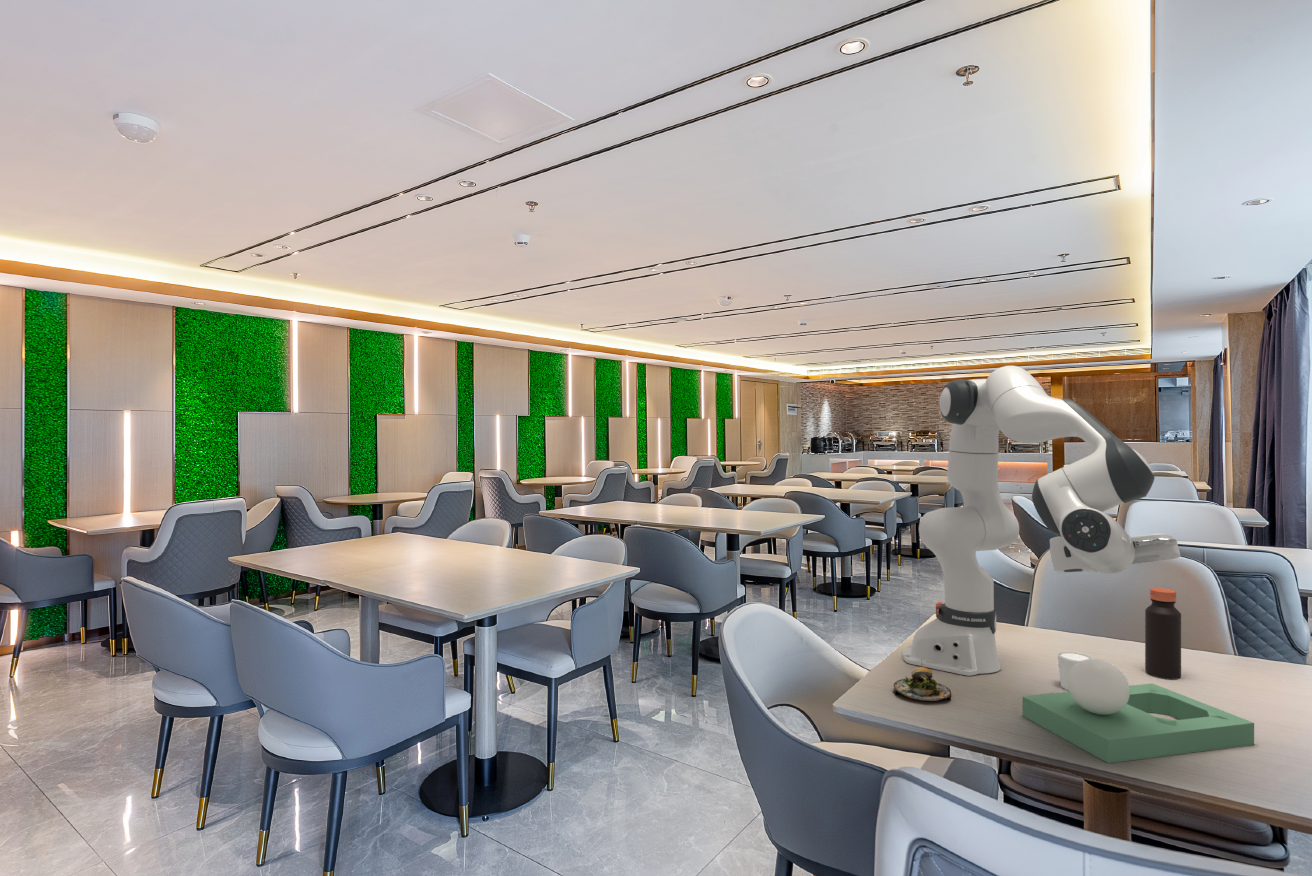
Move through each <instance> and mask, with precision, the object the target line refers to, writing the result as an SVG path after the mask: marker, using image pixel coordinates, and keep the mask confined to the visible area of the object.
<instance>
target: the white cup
mask: <svg viewBox="0 0 1312 876" xmlns="http://www.w3.org/2000/svg"><path fill="white" fill-rule="evenodd" d="M1086 659H1093V658H1092V657H1091V656H1088V655H1086V654H1082V653H1077V652H1067V651H1066V652H1060V653H1057V661H1058V669H1059V670H1058V671H1059V680H1060V687H1061V688H1062V689H1065V690H1067V691H1069V690H1068V686H1067V677H1068V674H1069V671H1070V670H1071V668H1072V667H1073V666H1074V665H1075V664H1076V663H1078V662H1080V661H1082V660H1086Z"/></svg>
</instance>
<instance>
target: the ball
mask: <svg viewBox="0 0 1312 876" xmlns="http://www.w3.org/2000/svg"><path fill="white" fill-rule="evenodd" d="M1067 686H1068V690H1067V691H1068V692H1069V693H1070V695H1071V696H1072V698H1073V699H1074V701H1075V702H1076V703H1077V704H1078V705H1080V706H1081V707H1082V708H1084V709H1085V710H1087V711H1089V712H1092V713H1095V714H1100V715H1109V714H1113V713H1116V712H1118V711H1120V710H1121V709H1123V708H1124V707H1125V705H1126V704H1127V702H1128V700H1129V696H1130V688H1129V686H1130V684H1129V681H1128V680H1127V678H1126V675H1124V673H1123V672H1122V671H1121V670H1120V669H1119V668H1118V666H1117V667H1116V666H1115V665H1113V664H1112V663H1110V662H1108V661H1106V660H1102V659H1098V658H1092V659H1086V660H1082V661H1080V662H1078V663H1076V664H1075V665H1074V666H1073V667H1072V668H1071V670H1070V671H1069V674H1068V677H1067Z"/></svg>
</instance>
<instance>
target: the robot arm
mask: <svg viewBox="0 0 1312 876" xmlns="http://www.w3.org/2000/svg"><path fill="white" fill-rule="evenodd" d="M939 410H940V414H941V416H942V417H943V419H944V420H945V421H946V423H947V422H948V423H951V424H952V425H951V426H952V427H951V431H950V436H949V444H948V460H947V477H946V478H947V481H948V483H949V485H951V487H953V488H954V489H955V490H957V491H958V492H960V494H961V497H962V502H963V506H959V507H958V506H957V507H956V506H955V507H942V508H938V509H934V510H931V511H928V512H926V513H924V514H923V515H922V517H921V519H920V521H919V525H918V534H919V538H920V540H921V542H922V543H923V544H924V546H925V547H926V548H927V549H929V551H931V552H932V553H933V554H934V555H935V557H936V559H937V560H938V563H939V564H940V566H941V567H940V568H941V570H942V575H943V585H944V602H942V601H938V602H937V603H936V604H935V605H934V606H935V607H934V608H935V617H936V618H935V619H933V620H931V621H930V622H928V623H927V624H925V625H923V626H922V627H920V628H918V629H917V630H916V631H915V633H914V635H913V639H912V643H911V645H909V646H907V647H905V648H904V649H903V652H902V659H903V661H904V662H906V663H907V664H911V665H915V666H918V667H921V658H922V667H925V668H928V669H934V670H938V671H943V672H949V673H953V674H958V675H962V676H963V675H964V676H967V677H968V676H970V677H971V676H975V675H979V674H981V675H982V674H991V673H996V672H999V671H1001V670H1002V664H1001V662H1000V657H999V654H998V653H999V652H998V649H997V644H996V643H997V641H996V631H997V614H996V613H997V612H996V608H994V607H995V606H994V605H995V601H994V599H995V596H994V593H995V589H994V588H995V587H994V586H995V584H994V583H995V582H994V578H993V576H992V575H991V574H990V573H989V571H987V570H986V569H984V568H982V567H981V566H980V565H979V563H978V559H977V554H976V552H982V551H983V552H984V551H996V550H1000V549H1003V548H1006V547H1009V546H1011V545H1013V544H1014V543H1015V542H1017V540H1018V538H1019V534H1020V523H1019V521H1018V519H1017V517H1016V515H1015V514H1014V513H1013V512H1012V511H1011V510H1010V509H1008V507H1007V506H1006V505H1005V503H1004V501H1003V499H1002V496H1001V492H1000V489H999V483H998V474H999V472H998V468H999V465H998V463H999V447H1000V444H999V443H1000V442H999V440H1000V438H999V434H1000V431H1001V433H1002V434H1003V435H1004V436H1005V437H1006V438H1007V439H1009V440H1011V441H1014V442H1017V443H1022V444H1039V443H1044V442H1048V441H1051V440H1056V439H1061V438H1069V437H1070V438H1072V437H1074V438H1075V437H1076V438H1079V439H1081V440H1082V441H1084V443H1086V444H1087V446H1089V447H1090V448H1091V449H1092V450H1093V451H1094V452H1092V453H1091V454H1089V455H1087V456H1085V457H1083V458H1081V459H1078V460H1077V461H1074V462H1072V463H1070V464H1067V465H1065V466H1063V467H1060V468H1058V469H1056V470H1054V471H1051V472H1050V473H1047V474H1045V475H1043V476H1041V477H1040V478H1037V479H1036V480H1035V483H1034V485H1033V490H1032V494H1031V500H1032V503H1033V506H1034V508H1035V510H1036V513H1037V514H1038V516H1039V518H1040V519H1041V521H1042V523H1043V524H1044V525H1045V527H1046V528H1047V529H1048V530H1049V531H1050V532H1051V533H1052V534H1054V535H1056V536H1054V537H1052V538H1050V539H1049V553H1050V558H1051V562H1052V566H1053V571H1054V572H1056V573H1060V574H1061V573H1062V574H1063V573H1075V572H1076V573H1079V572H1081V573H1082V572H1089V573H1101V574H1109V575H1110V574H1116V573H1119V572H1122V571H1125V570H1126V569H1128V568H1129V567H1130V566H1131V565H1134V564H1142V563H1153V562H1158V561H1168V560H1175V559H1178V558H1180V557H1181V552H1180V548H1179V545H1178V541H1177V540H1176V538H1175V537H1173V536H1172V535H1170V534H1168V533H1161V532H1160V533H1150V534H1149V533H1148V534H1144V535H1143V534H1142V535H1136V536H1130V534H1128V532H1127V531H1126V530H1125V529H1124V528H1123V527H1122V525H1120V523H1119V522H1118V521H1117V520H1115V519H1114V518H1113V517H1112V516H1110V515H1109V514H1107V513H1105V512H1106V511H1108V510H1110V509H1113V508H1115V507H1117V506H1120V505H1122V504H1127V503H1130V502H1134V501H1137V500H1139V499H1142V498H1146V497H1147V495H1148V494H1149V492H1150V491H1151V489H1152V488H1153V487H1152V486H1153V483H1154V482H1155V477H1156V476H1155V475H1154V473H1153V470H1152V467H1151V465H1150V463H1149V462H1148V461H1147V459H1146V458H1145V457H1144V456H1143V455H1142V454H1141V453H1139V452H1138V451H1137V450H1135V449H1134V448H1133V447H1131V446H1130V445H1128V444H1127V443H1126V442H1124V441H1123V440H1121V439H1120V438H1119V437H1117V436H1116V435H1115V434H1114V433H1113V432H1112V431H1111V430H1110V429H1108V428H1107V426H1105V425H1104V424H1103V423H1101V422H1100V421H1099V419H1097V418H1096V417H1095V416H1093V415H1092V414H1091V413H1090V412H1089V411H1088V410H1086V409H1085V408H1083V407H1082V406H1081V405H1080V404H1079V403H1077V402H1075V401H1074V400H1072V399H1070V398H1056V397H1052V396H1050V395H1049V394H1047V393H1046V391H1045V390H1044V388H1043V386H1042V385H1041V384H1040V383H1039V381H1038V380H1037V379H1036V378H1034V376H1032V374H1030V373H1029V372H1028V371H1027V370H1025V368H1023V367H1020V366H1017V365H1004V366H1001V367H998V368H996V369H995V370H993V371H992V372H991V373H990V374H989V375H988V376H987V378H973V379H965V378H960V379H955V380H952V381H949V382H947V383H946V384H945V386H943V387H942V389H941V393H940V396H939Z"/></svg>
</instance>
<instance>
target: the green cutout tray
mask: <svg viewBox="0 0 1312 876" xmlns="http://www.w3.org/2000/svg"><path fill="white" fill-rule="evenodd" d="M1129 688H1130V696H1129V700H1128V702H1127V704H1126V705H1125V707H1124V708H1123V709H1121V710H1120V711H1118V712H1116V713H1113V714H1109V715H1100V714H1095V713H1092V712H1089V711H1087V710H1085V709H1084V708H1082V707H1081V706H1080V705H1078V704H1077V703H1076V702H1075V701H1074V699H1073V698H1072V696H1071V695H1070V693H1069V691H1063V692H1061V691H1060V692H1053V693H1052V692H1051V693H1043V694H1033V695H1023V696H1022V717H1024V718H1025V719H1027V720H1029V721H1031V722H1033V723H1035V724H1036V725H1038V726H1040V727H1042V728H1044V729H1045V730H1047V731H1049V732H1051V733H1053V734H1055V735H1056V736H1058V737H1060V738H1062V739H1064V740H1065V741H1067V742H1069V743H1071V744H1073V745H1075V746H1076V747H1079V748H1080V749H1081V750H1083V751H1085V752H1087V753H1090V755H1092V756H1094V757H1096V758H1098V759H1099V760H1102V761H1104V762H1105V763H1107V764H1111V763H1119V762H1127V761H1135V760H1143V759H1151V758H1158V757H1161V758H1162V757H1166V756H1167V757H1168V756H1175V755H1182V754H1192V753H1198V752H1199V753H1200V752H1205V751H1215V750H1223V749H1230V748H1238V747H1245V746H1252V745H1255V722H1253V721H1251V720H1249V719H1246V718H1243V717H1241V716H1237V715H1235V714H1232V713H1230V712H1228V711H1224V710H1223V709H1220V708H1217V707H1215V706H1212V705H1209V704H1206V703H1204V702H1202V701H1200V700H1197V699H1193V698H1191V697H1188V696H1186V695H1183V694H1181V693H1180V692H1179V693H1178V692H1176V691H1174V690H1171V689H1168V688H1165V687H1163V686H1160V685H1158V684H1156V683H1153V682H1152V683H1143V684H1133V685H1129ZM1151 713H1155V714H1159V715H1164V716H1169V717H1172V718H1174V719H1170V718H1165V717H1159V716H1155V715H1153V714H1151ZM1175 719H1176V720H1175Z"/></svg>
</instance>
